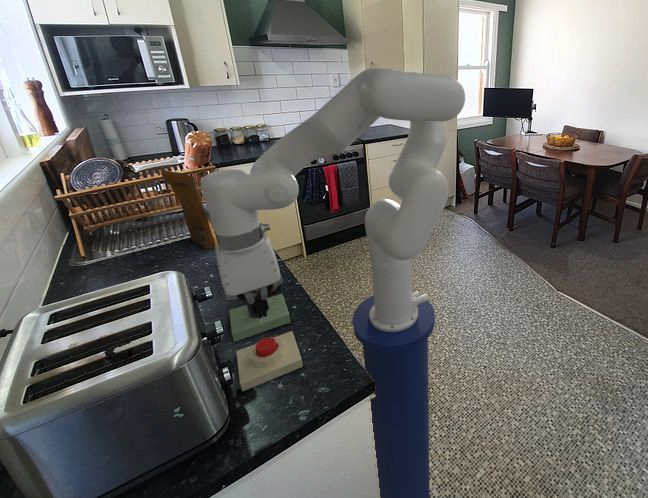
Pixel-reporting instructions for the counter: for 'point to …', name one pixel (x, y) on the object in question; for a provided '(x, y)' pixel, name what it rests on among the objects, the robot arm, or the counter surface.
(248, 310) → the dial
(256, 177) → the robot arm
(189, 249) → the counter surface
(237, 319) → the dial panel
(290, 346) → the button housing
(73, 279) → the counter surface
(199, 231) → the pancake mix bag
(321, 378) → the counter surface
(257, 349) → the button
